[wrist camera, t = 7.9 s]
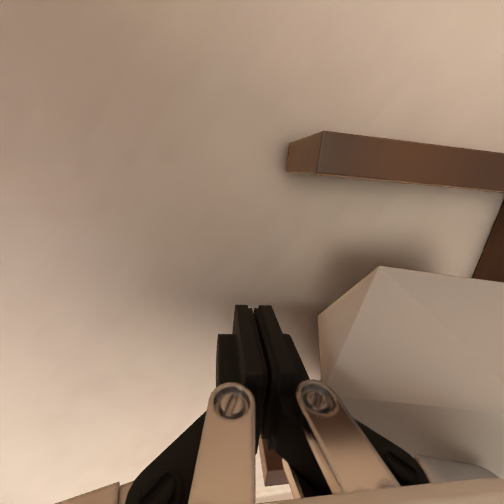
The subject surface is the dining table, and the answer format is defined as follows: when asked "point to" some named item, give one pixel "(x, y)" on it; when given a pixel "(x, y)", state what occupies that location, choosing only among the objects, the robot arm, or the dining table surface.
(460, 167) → the bay
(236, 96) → the dining table surface
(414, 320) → the die
